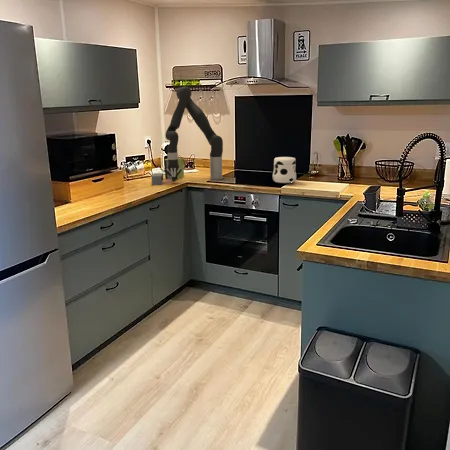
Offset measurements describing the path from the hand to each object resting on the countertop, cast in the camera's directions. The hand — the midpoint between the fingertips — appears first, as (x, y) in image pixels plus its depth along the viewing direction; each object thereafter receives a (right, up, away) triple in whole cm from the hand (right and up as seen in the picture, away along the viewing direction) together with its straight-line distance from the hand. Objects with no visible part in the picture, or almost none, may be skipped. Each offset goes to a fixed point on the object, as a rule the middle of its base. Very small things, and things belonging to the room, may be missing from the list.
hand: (174, 181), depth 337 cm
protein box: (-2, +5, +20) cm, 20 cm away
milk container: (+81, -2, -6) cm, 82 cm away
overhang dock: (-12, -1, 0) cm, 12 cm away
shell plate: (-8, -2, 0) cm, 8 cm away
